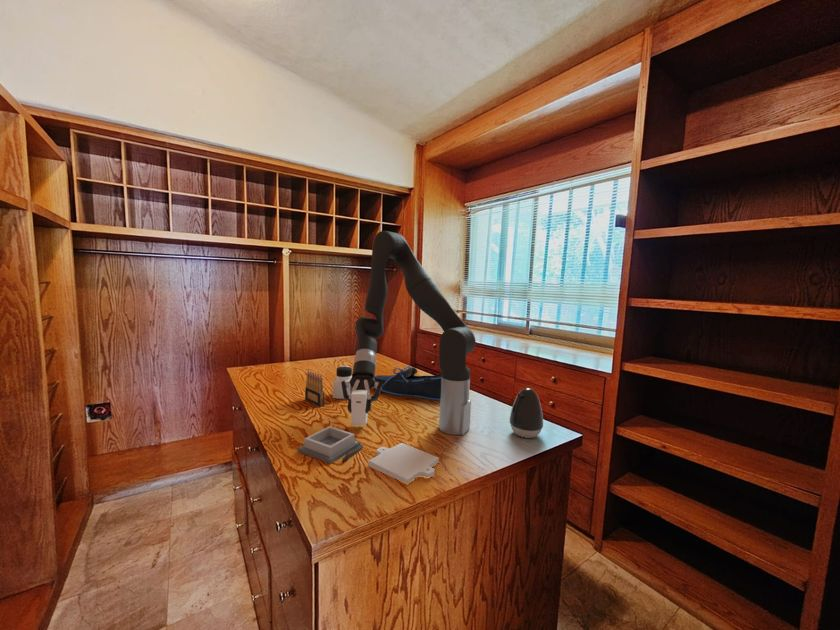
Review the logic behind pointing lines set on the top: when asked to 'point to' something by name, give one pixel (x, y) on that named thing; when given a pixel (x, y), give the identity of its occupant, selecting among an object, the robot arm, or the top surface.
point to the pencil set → (314, 389)
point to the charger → (358, 407)
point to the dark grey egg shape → (526, 414)
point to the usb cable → (352, 452)
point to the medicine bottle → (342, 375)
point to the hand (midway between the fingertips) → (358, 412)
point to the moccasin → (411, 384)
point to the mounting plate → (404, 462)
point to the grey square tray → (329, 444)
